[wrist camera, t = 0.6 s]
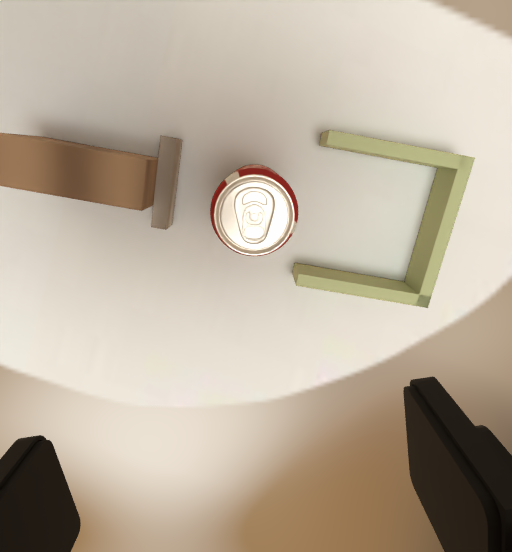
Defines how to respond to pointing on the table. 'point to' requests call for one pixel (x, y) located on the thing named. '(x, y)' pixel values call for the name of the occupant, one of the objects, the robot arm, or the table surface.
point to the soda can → (254, 211)
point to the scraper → (94, 173)
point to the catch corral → (431, 233)
